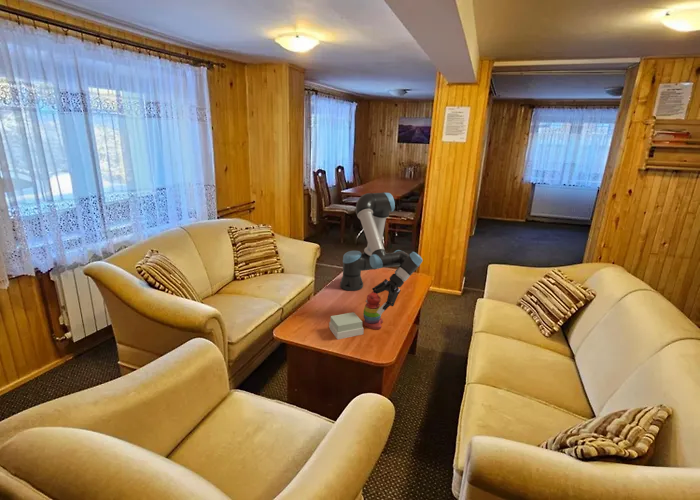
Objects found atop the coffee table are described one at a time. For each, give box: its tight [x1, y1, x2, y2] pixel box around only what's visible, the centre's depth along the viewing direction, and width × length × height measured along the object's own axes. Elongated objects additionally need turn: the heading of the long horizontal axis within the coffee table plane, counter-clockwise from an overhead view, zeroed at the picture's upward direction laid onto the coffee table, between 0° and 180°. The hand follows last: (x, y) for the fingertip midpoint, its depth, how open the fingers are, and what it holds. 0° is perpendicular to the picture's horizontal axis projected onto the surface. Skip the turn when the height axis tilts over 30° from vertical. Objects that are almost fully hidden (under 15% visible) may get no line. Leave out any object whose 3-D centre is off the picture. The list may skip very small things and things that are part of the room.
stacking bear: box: [362, 291, 384, 330], centre depth 198 cm, size 11×10×18 cm
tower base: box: [328, 311, 364, 340], centre depth 192 cm, size 12×14×7 cm
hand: (372, 308), depth 197 cm, fingers open, 13 cm apart
